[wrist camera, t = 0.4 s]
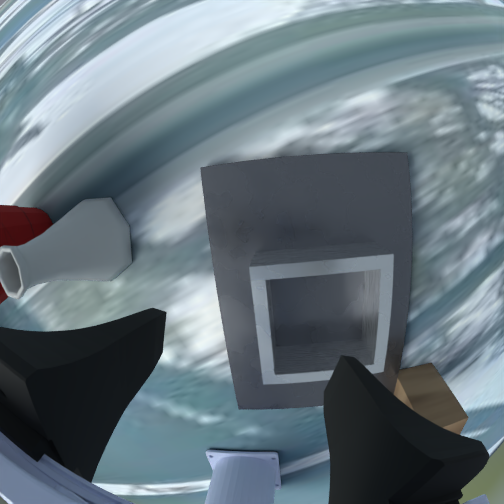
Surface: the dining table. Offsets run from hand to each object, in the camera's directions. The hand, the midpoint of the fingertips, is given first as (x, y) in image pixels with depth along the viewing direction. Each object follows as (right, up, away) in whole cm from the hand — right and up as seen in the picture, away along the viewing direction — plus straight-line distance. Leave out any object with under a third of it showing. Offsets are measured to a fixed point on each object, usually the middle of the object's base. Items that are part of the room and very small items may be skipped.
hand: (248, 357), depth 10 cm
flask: (-13, +5, +11) cm, 17 cm away
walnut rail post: (+15, -8, +11) cm, 20 cm away
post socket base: (+5, +1, +9) cm, 11 cm away
